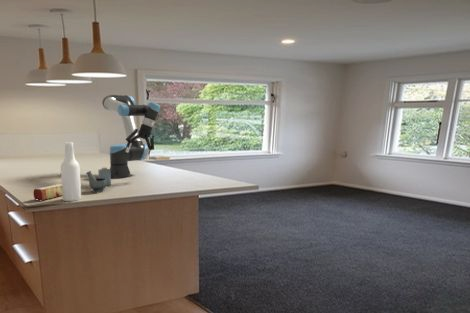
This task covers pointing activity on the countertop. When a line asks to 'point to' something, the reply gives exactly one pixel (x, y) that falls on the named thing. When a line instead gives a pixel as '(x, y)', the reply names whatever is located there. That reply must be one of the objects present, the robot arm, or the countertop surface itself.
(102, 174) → the glazed jar
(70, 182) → the alcohol
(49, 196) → the snack package
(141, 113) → the robot arm
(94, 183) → the mortar and pestle
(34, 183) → the countertop surface
